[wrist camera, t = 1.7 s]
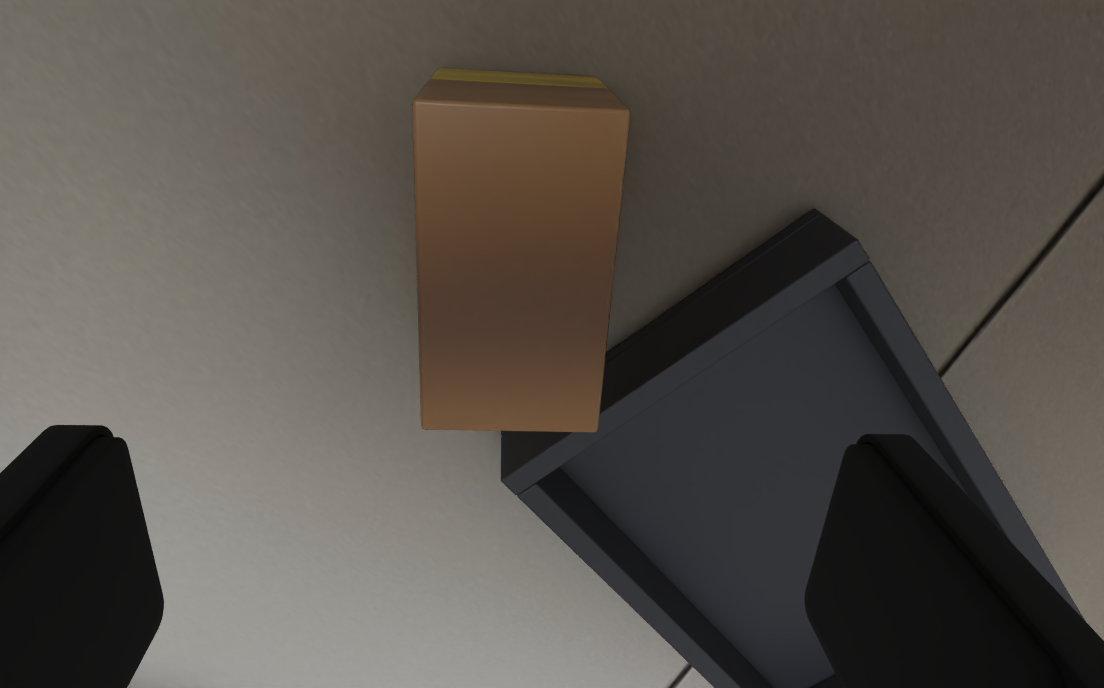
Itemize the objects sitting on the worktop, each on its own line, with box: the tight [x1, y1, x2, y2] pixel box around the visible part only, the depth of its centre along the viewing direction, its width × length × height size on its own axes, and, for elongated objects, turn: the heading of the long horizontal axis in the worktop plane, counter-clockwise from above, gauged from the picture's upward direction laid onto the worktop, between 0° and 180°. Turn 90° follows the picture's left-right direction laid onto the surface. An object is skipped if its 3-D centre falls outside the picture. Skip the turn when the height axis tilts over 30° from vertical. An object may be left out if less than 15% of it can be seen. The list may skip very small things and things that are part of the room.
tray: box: [501, 209, 1086, 688], centre depth 26 cm, size 20×13×3 cm, turn 38°
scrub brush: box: [412, 68, 630, 432], centre depth 19 cm, size 8×4×6 cm, turn 177°
